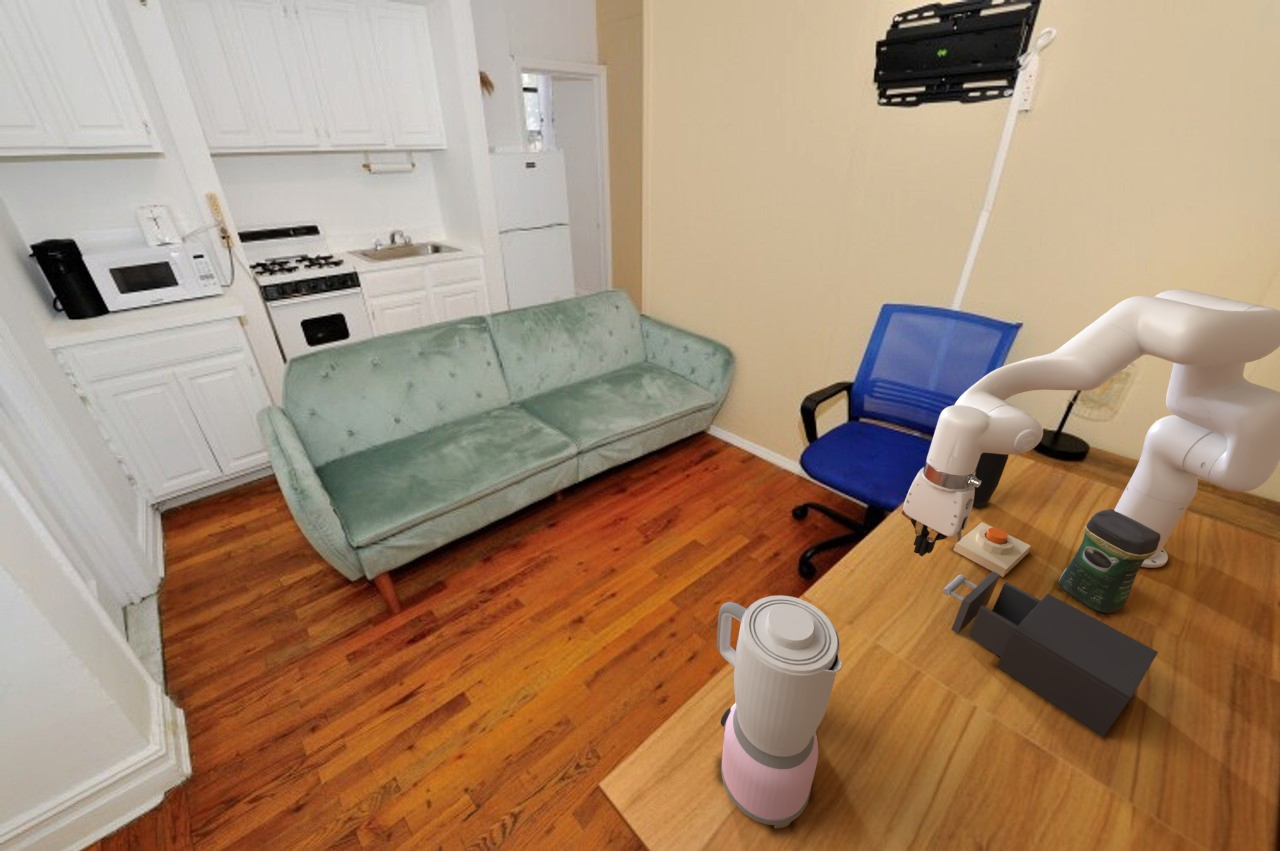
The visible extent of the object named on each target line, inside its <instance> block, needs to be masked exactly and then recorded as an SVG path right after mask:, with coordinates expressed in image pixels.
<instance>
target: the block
mask: <svg viewBox="0 0 1280 851" xmlns="http://www.w3.org/2000/svg"><path fill="white" fill-rule="evenodd" d="M989 528H994V527H993V526H991V525H989V524H987V523H986V522H983V521H981V522H980V523H979V524H977V526H975V527H974V528H973V529H971V530H970V531H969V532H968V533H966V534H965V535H964V536H963V537H961V540H960V541H959V542H958V543H954V544H955V545H954V548H953V551H954V552H955V553H957V554H960V555H962V556H963V557H964V558H967V559H969V560H971V561H972V562H974V563H976V564H977V565H979V566H981V567H983V568H985V569H986V570H989V571H991V572H993V571H994V572H996V573H998V574H1000V577H1002V578H1004V577H1005V576H1006V574H1008V573H1009V572H1010V571H1011V570H1012V569H1013V568H1015V567H1016V565H1017V564H1019V563H1020V561H1021V560H1023V558H1025V557H1026V556H1027V555H1028V554H1029V551H1030V549H1031V548H1032V545H1030V544H1028V543H1026V542H1024V541H1022V540H1021V539H1018V538H1016V537H1014V536H1012V535H1010V534H1008V537H1007V540H1006V542H1005V544H1002V545H1000V544H996V543H993V542H991V541H989V540H988V539H987V538H986V534H987V531H988V529H989Z"/></svg>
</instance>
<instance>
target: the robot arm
mask: <svg viewBox="0 0 1280 851" xmlns="http://www.w3.org/2000/svg"><path fill="white" fill-rule="evenodd" d="M1279 348H1280V310H1279V309H1276V308H1274V307H1269V306H1266V305H1265V306H1264V305H1262V304H1261V305H1260V304H1256V303H1250V302H1245V301H1240V300H1235V299H1231V298H1227V297H1222V296H1218V295H1213V294H1208V293H1203V292H1198V291H1194V290H1189V289H1182V288H1179V289H1169V290H1165V291H1162V292H1160V293H1158V294H1156V295H1154V296H1152V295H1136V296H1130V297H1128V298H1125V299H1124V300H1122V301H1120V302H1119V303H1117V304H1116V305H1114V306H1113V307H1111V308H1110V309H1109V310H1107V311H1106V312H1105V313H1103V314H1102V315H1101V316H1099V317H1098V318H1097V319H1096V320H1095V321H1093V322H1092V323H1090V324H1089V325H1087V326H1086V327H1084V328H1083V329H1082V330H1081V331H1080V332H1079V333H1077V334H1076V335H1074V336H1073V337H1072V338H1071V339H1069V340H1067V342H1065V343H1064V344H1062V346H1060V347H1059V348H1057V349H1056V350H1054V351H1053V352H1050V353H1046V354H1042V355H1038V356H1033V357H1029V358H1025V359H1022V360H1019V361H1015V362H1012V363H1009V364H1006V365H1002V366H1001V367H998V368H996V369H994V370H992V371H990V372H989V373H987V374H986V375H984V376H982V378H981V379H979V380H978V381H976V382H975V383H974V384H972V385H971V386H970V387H969V388H968V389H967V390H965V391H964V392H963V393H962V394H961V395H960V396H959V398H958V399H957V400H956V401H955V403H954V404H953V405H950V406H949V405H948V406H947V407H945V408H944V409H943V410H942V411H941V412H940V413H939V417H938V420H937V423H936V426H935V430H934V434H933V437H932V440H931V443H930V446H929V449H928V453H927V456H926V460H925V463H924V466H923V467H922V468H920V470H919V471H918V472H917V474H916V476H915V477H914V479H913V481H912V483H911V485H910V487H909V489H908V492H907V494H906V497H905V499H904V503H903V507H902V511H901V514H902V516H903V517H905V518H906V519H907V520H909V521H910V523H911V525H912V526H913V528H914V534H915V535H916V536H915V538H914V542H913V546H915V547H914V551H913V553H915V554H918V556H920V557H923V556H925V555H927V554H931V553H932V552H933V550H934V548H935V545H936V542H937V541H942V540H946V541H948V542H951V543H954V544H956V543H958V542H959V541H960V540H961V539H962V531H965V530H966V528H967V526H968V525H969V522H970V518H971V515H972V510H973V506H974V505H973V501H974V493H975V487H977V488H978V487H979V486H980V484H981V481H980V480H978V479H977V478H975V473H976V472H975V470H976V467H977V464H978V461H979V458H980V456H981V454H982V453H996V454H1007V455H1009V456H1010V455H1021V454H1025V453H1027V452H1029V451H1031V450H1033V449H1035V447H1037V446H1038V445H1039V444H1040V442H1041V441H1042V439H1043V436H1044V429H1043V426H1042V423H1041V422H1040V421H1039V420H1038V419H1037V418H1035V417H1034V416H1033V415H1031V414H1030V413H1028V412H1025V411H1024V410H1022V409H1020V408H1017V407H1016V406H1014V405H1013V404H1011V403H1009V402H1007V401H1006V400H1007V399H1009V398H1011V397H1013V396H1016V395H1017V394H1022V393H1025V392H1032V391H1039V390H1040V391H1043V390H1045V391H1046V390H1048V391H1050V390H1051V391H1092V390H1095V389H1097V388H1100V387H1101V386H1103V385H1104V384H1105V383H1107V382H1108V381H1110V380H1111V379H1113V378H1114V377H1115V376H1117V374H1119V373H1121V372H1122V371H1123V370H1125V369H1126V368H1127V367H1129V366H1130V365H1131V364H1133V363H1134V362H1135V361H1137V360H1138V359H1139V358H1141V357H1143V356H1145V355H1146V356H1151V357H1155V358H1158V359H1161V360H1164V361H1168V362H1171V363H1173V365H1172V369H1171V375H1170V378H1169V381H1168V382H1169V383H1168V387H1167V391H1166V397H1165V406H1166V409H1167V410H1168V412H1170V414H1172V415H1167V416H1166V415H1165V416H1164V417H1161V418H1159V419H1157V420H1156V421H1155V422H1154V423H1153V424H1152V425H1151V426H1150V427H1149V429H1148V430H1147V432H1146V434H1145V437H1144V442H1143V445H1142V451H1141V454H1140V458H1139V461H1138V463H1137V465H1136V468H1135V469H1134V471H1133V473H1132V476H1131V478H1130V479H1129V481H1128V483H1127V485H1126V487H1125V488H1124V490H1123V492H1122V494H1121V496H1120V498H1119V500H1118V502H1117V504H1116V505H1115V507H1114V509H1113V510H1115V511H1116V512H1118V513H1121V514H1123V515H1125V516H1127V517H1129V518H1131V519H1133V520H1135V521H1137V522H1139V523H1141V524H1143V525H1145V526H1147V527H1148V528H1151V529H1152V530H1154V531H1156V532H1158V533H1159V534H1160V536H1161V537H1160V541H1159V544H1158V547H1157V550H1156V552H1155V553H1154V554H1153V555H1152V556H1151V557H1149V558H1147V559H1145V560H1144V562H1143V563H1142V565H1141V566H1140V568H1146V569H1147V568H1149V569H1155V568H1160V567H1163V566H1165V565H1166V563H1167V562H1168V560H1169V555H1168V553H1167V551H1166V550H1165V549H1164V547H1165V545H1166V543H1167V542H1168V540H1169V539H1170V537H1171V536H1172V534H1173V532H1174V530H1176V528H1177V526H1178V524H1179V522H1180V521H1181V519H1182V518H1183V516H1184V514H1186V513H1185V512H1186V511H1187V509H1188V508H1189V506H1190V505H1191V504H1192V501H1194V498H1195V497H1196V495H1197V492H1198V489H1199V488H1198V486H1199V480H1198V479H1199V478H1200V479H1201V480H1204V481H1205V482H1208V483H1209V484H1213V485H1214V486H1217V487H1219V488H1222V489H1224V490H1227V491H1229V492H1230V491H1231V492H1237V493H1238V492H1239V493H1241V492H1242V493H1243V492H1250V491H1253V490H1255V489H1258V488H1259V487H1261V486H1262V485H1264V484H1265V483H1266V482H1267V481H1268V480H1269V479H1270V478H1271V476H1272V475H1273V474H1274V473H1275V470H1276V469H1277V466H1278V465H1279V462H1280V391H1278V390H1275V389H1272V388H1269V387H1267V386H1263V385H1259V384H1256V383H1253V382H1250V381H1249V380H1247V379H1246V378H1245V377H1244V371H1245V367H1246V364H1247V363H1252V362H1256V361H1258V360H1261V359H1263V358H1266V357H1267V356H1269V355H1270V354H1272V353H1274V352H1275V351H1277V350H1278V349H1279ZM974 486H975V487H974ZM929 528H930V529H931V530H929Z"/></svg>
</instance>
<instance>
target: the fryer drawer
mask: <svg viewBox="0 0 1280 851" xmlns="http://www.w3.org/2000/svg"><path fill="white" fill-rule="evenodd" d="M1000 577H1001V576H1000V574H998V573H996V572H994V571H991V573H990V574H988V575H987V576H986V577H985V578H984V579H983V580H982V581H981V582H980V583H979V584H978V585H977V584H975V583H973V582H972V581H969V580H968V579H967V578H966V576H965V575H964V574H958V575H957V576H956V577H955V578H954V579H952V580H951V581H950V582H949V583H948V584H947V585H945V586H944V587H943V588H942V593H943V594H944V595H945V596H952V597H953V598H955V599H956V600H958V601H960V602H961V604H960V606H959V609H958V611H957V614H956V617H955V619H954V621H953V624H952V627H951V629H950V630H951V631H953V632H954V633H956V634H959V633H961V632H962V630H964V628H965V627H967V626H968V625H969V624H970V623H971V622H972V621H973V620H974V621H973V623H972V625H971V628H970V630H969V632H968V634H967V637H969V638H971V639H972V640H974V641H975V642H977V643H978V644H980V645H981V646H982V647H984V648H986V649H987V650H989V651H990V652H992V653H994V654H995V655H997V656H998V657H1000V659H1001V658H1002V656H1003V654H1004V652H1005V650H1006V648H1007V646H1008V644H1009V641H1010V639H1011V637H1012V635H1013V633H1014V631H1015V629H1016V628H1017V627H1018V625H1019V624H1020V623H1021V622H1022V621H1023V620H1024V619H1025V618H1026V617H1027V615H1028V614H1029V613H1030V612H1031V611H1032V610H1033V609H1034V608H1035V607H1036V606H1037V604H1038V603H1039V602H1040V601H1041V600H1042V599H1039V598H1037V597H1036V596H1033V595H1031V594H1030V593H1028V592H1027V591H1024V590H1022V589H1020V588H1019V587H1017V586H1015V585H1013V584H1011V583H1009V582H1008V581H1005V582H1004V583H1003V585H1002V587H1001V589H1000V592H999V594H998V596H997V599H996V601H995V603H994V606H993V608H992V609H990V608H988V607H987V606H988V604H989V603H990V599H991V597H992V595H993V593H994V590H995V588H996V586H997V583H998V581H999V579H1000ZM963 584H964V585H966V586H967V587H970V588H972V590H971V591H970V592H969V593H968V594H967V595H965V597H963V596H962V595H959V593H956V592H955V591H956V590H957V589H958V588H959V587H960V586H962V585H963Z"/></svg>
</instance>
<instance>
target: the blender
mask: <svg viewBox="0 0 1280 851" xmlns="http://www.w3.org/2000/svg"><path fill="white" fill-rule="evenodd" d="M718 611H719V612H718V617H717V632H716V633H717V634H716V645H717V646H716V647H717V650H718V652H719V654H720V655H721V657H722V658H723V659H724V660H725V661H726V662H728V664H730V665H731V666H732V667H733V692H734V700H735V703H734V704H733V705H732V706H731V707H728V708H727V709H726V710H725V711H724V713H723V714H722V716H721V718H720V725H721V726H722V727H723V732H724V735H723V744H722V757H721V765H720V766H721V767H720V771H721V779H722V783H723V786H724V789H725V791H726V793H727V795H728V797H729V798H730V800H731V802H732V803H733V804H734V805H735V806H736V808H737V809H738V810H739V811H740V812H741V813H742V814H744V815H745V816H747V817H748V818H750V819H752V820H753V821H756V822H758V823H760V824H764V825H768V826H773V827H774V829H782V828H786V827H789V826H790V825H791V823H792V822H793V821H795V820H796V819H798V818H799V817H800V816H801V814H803V812H804V811H805V809H806V807H807V805H808V803H809V800H810V798H811V797H810V796H811V792H812V785H813V781H814V778H815V773H816V770H817V765H818V760H819V742H818V737H817V733H816V732H817V729H818V728H819V726H820V724H821V723H822V720H823V719H824V716H825V714H826V712H827V709H828V706H829V703H830V700H831V696H832V691H833V687H834V683H835V680H836V675H837V672H839V671H841V670H842V666H843V663H842V661H841V659H840V648H841V641H840V636H839V634H838V631H837V629H836V627H835V625H834V623H833V622H832V621H831V620H830V618H829V617H828V616H827V615H826V613H824V612H823V611H821V610H820V609H819V608H818V607H816V606H815V605H813V604H812V603H810V602H808V601H806V600H803V599H801V598H798V597H795V596H790V595H780V594H779V595H769V596H765V597H762V598H759V599H758V600H755V601H754V602H753V603H751V604H749V607H747V608H746V607H744V606H742V605H741V604H739V603H737V602H734V601H728V602H727V601H726V602H724V603H723V604H722V605H721V606H720V608H719V610H718ZM733 618H734V619H735V620H737V621H739V622H740V627H739V631H738V637H737V642H736V648H735V649H734V648H733V647H732V646H731V631H732V623H733V622H732V621H733Z"/></svg>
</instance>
